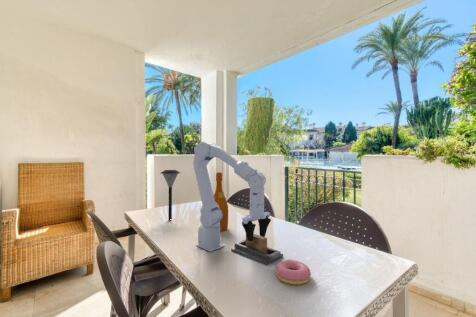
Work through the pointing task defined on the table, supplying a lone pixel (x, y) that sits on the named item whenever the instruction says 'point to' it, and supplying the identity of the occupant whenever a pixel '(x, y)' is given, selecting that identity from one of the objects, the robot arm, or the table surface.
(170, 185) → the solar garden light
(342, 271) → the table surface
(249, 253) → the floor track
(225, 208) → the wine bottle
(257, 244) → the door panel
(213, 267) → the table surface
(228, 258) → the table surface
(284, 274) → the doughnut
